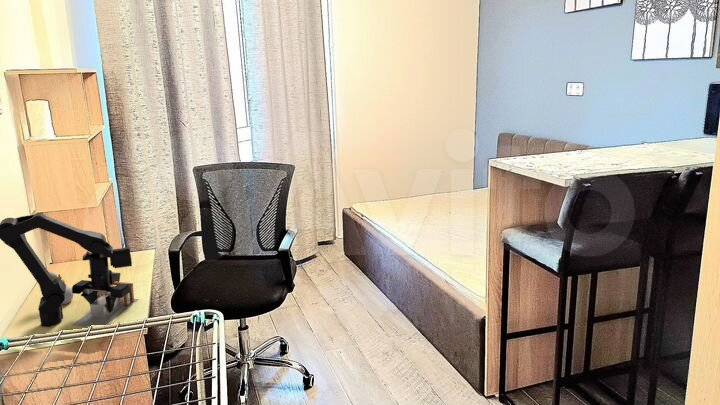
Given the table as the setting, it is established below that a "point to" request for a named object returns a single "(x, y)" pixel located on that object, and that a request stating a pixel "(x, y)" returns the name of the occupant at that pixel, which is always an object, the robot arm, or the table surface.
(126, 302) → the collar
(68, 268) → the table surface
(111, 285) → the angle bracket
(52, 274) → the white faceted ball
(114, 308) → the grey long block
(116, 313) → the board
